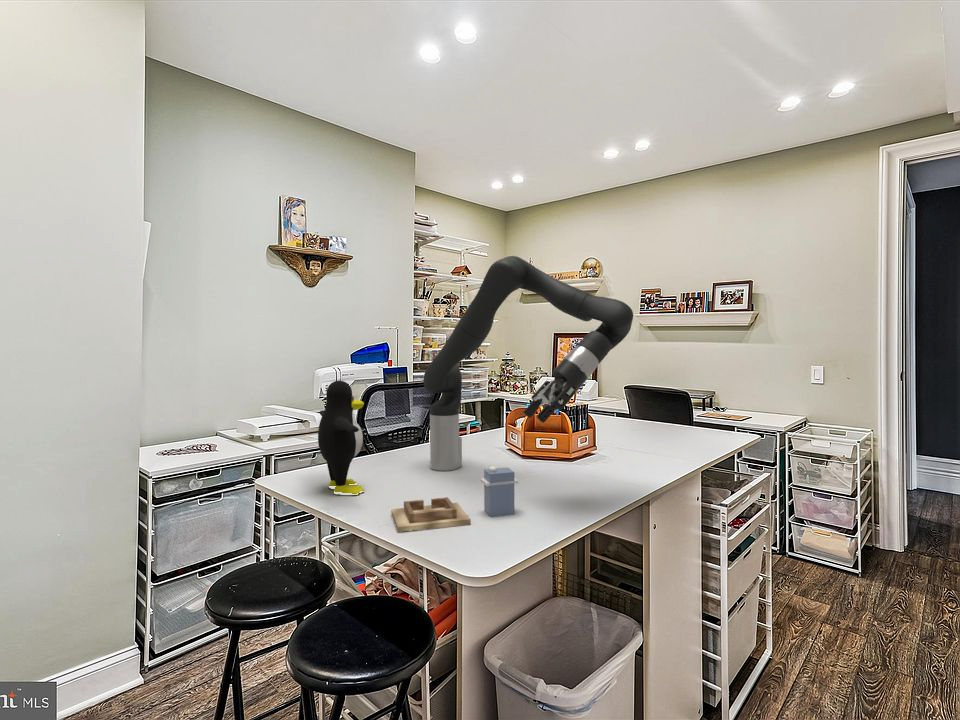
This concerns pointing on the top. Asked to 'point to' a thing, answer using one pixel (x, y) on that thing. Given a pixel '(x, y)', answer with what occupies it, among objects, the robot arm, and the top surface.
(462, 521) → the wooden fixture board
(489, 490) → the servo block
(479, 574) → the top surface
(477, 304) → the robot arm
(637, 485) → the top surface
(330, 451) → the toy
